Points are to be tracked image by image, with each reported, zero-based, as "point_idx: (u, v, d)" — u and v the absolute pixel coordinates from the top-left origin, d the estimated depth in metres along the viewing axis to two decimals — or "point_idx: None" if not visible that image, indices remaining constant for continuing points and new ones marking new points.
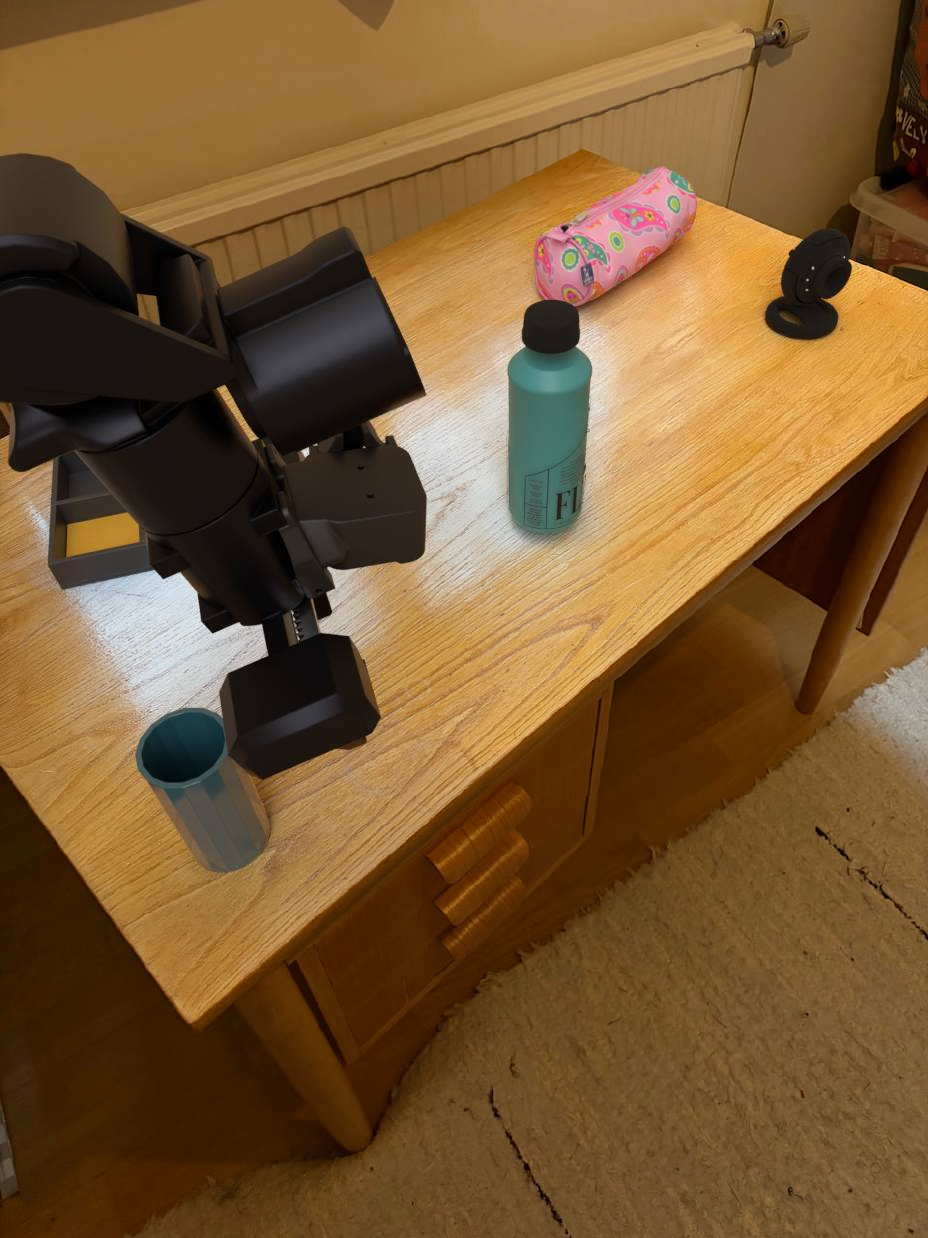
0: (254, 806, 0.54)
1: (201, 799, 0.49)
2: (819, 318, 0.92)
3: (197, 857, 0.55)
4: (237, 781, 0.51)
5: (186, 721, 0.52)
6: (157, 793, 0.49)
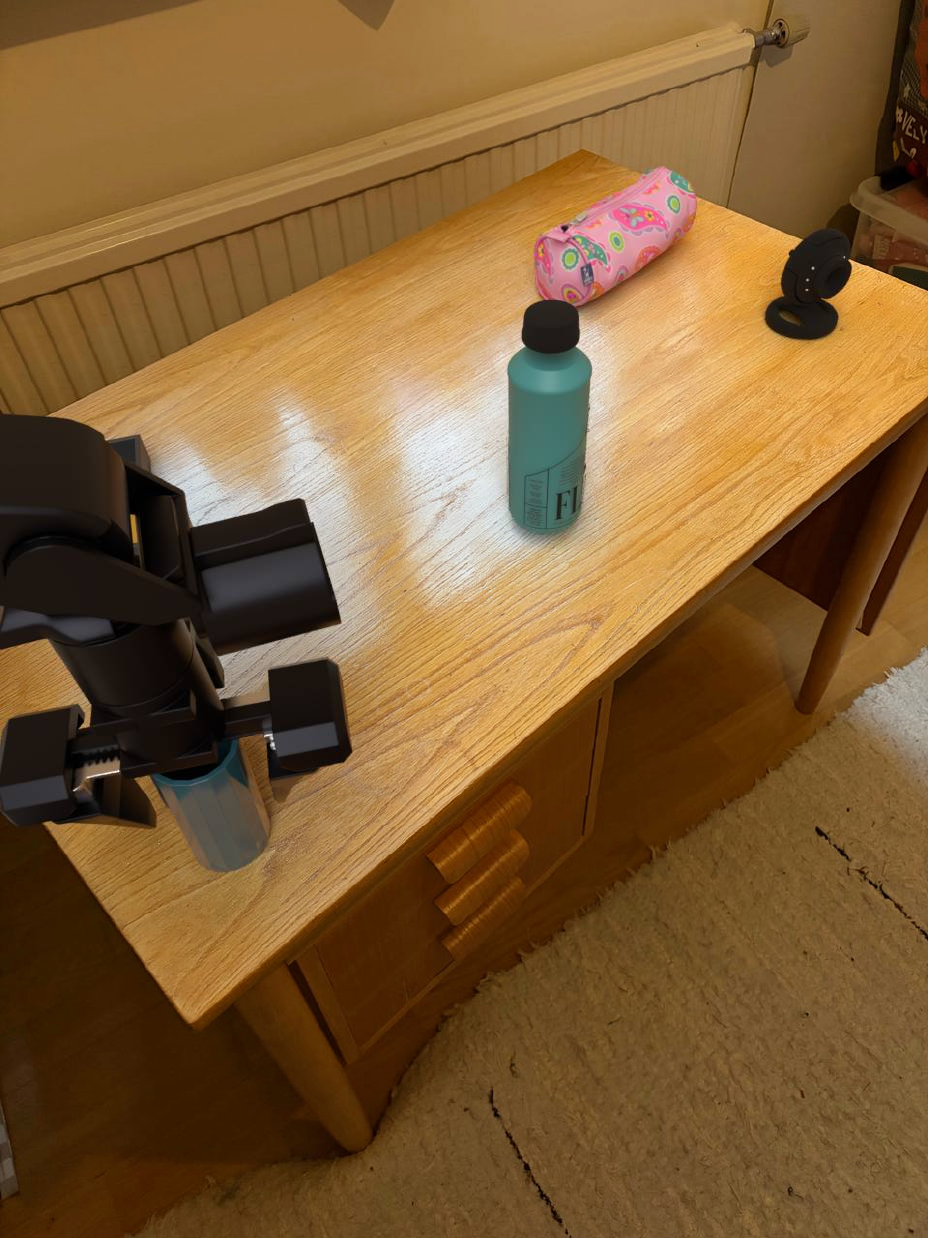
0: (257, 806, 0.54)
1: (207, 797, 0.49)
2: (819, 318, 0.92)
3: (197, 856, 0.55)
4: (242, 780, 0.51)
5: None
6: (163, 790, 0.49)
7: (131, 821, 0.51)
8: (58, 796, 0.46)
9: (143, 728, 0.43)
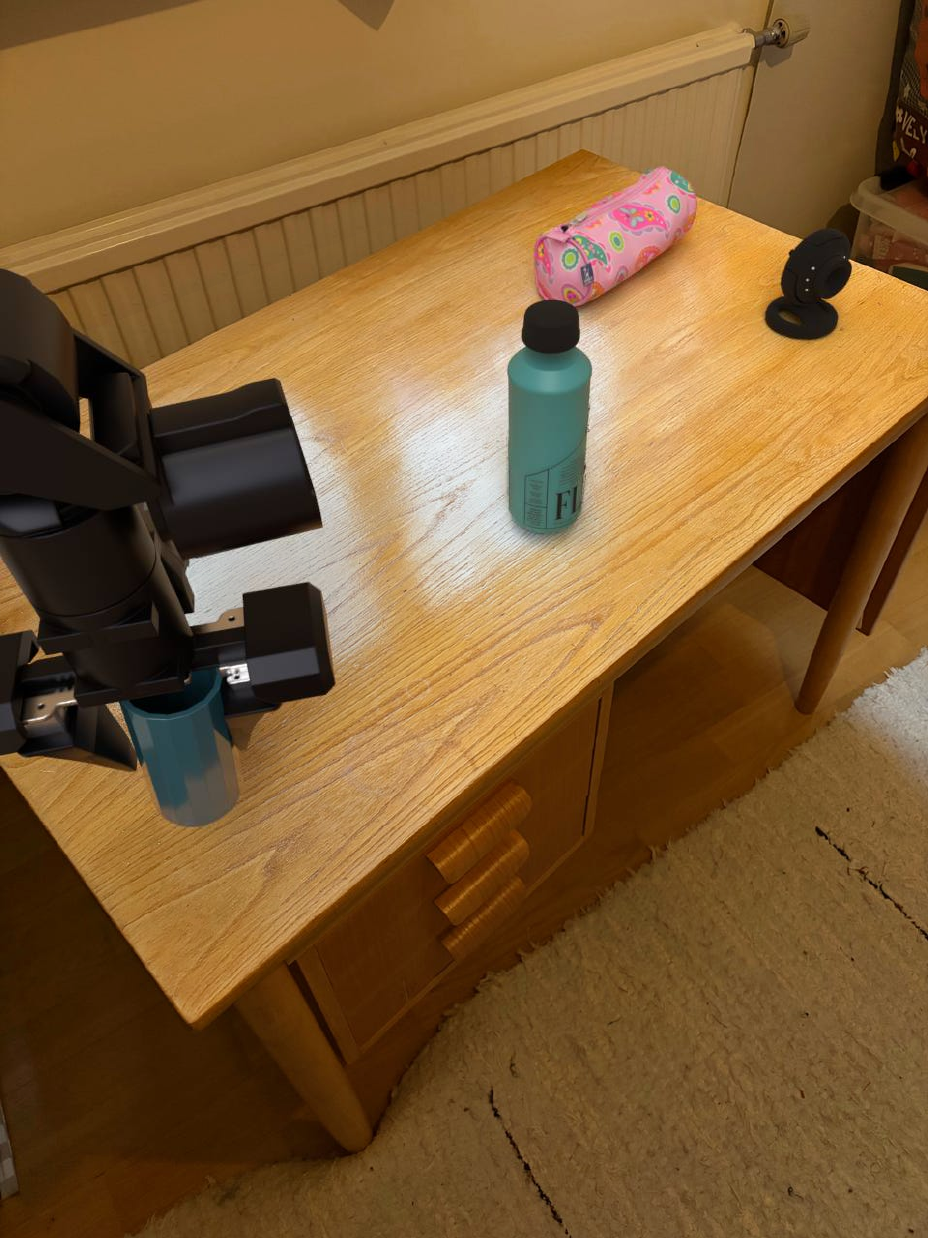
0: (234, 755, 0.50)
1: (184, 736, 0.45)
2: (819, 318, 0.92)
3: (163, 807, 0.50)
4: (223, 722, 0.47)
5: None
6: (136, 726, 0.44)
7: (108, 759, 0.46)
8: (5, 726, 0.41)
9: (99, 644, 0.38)
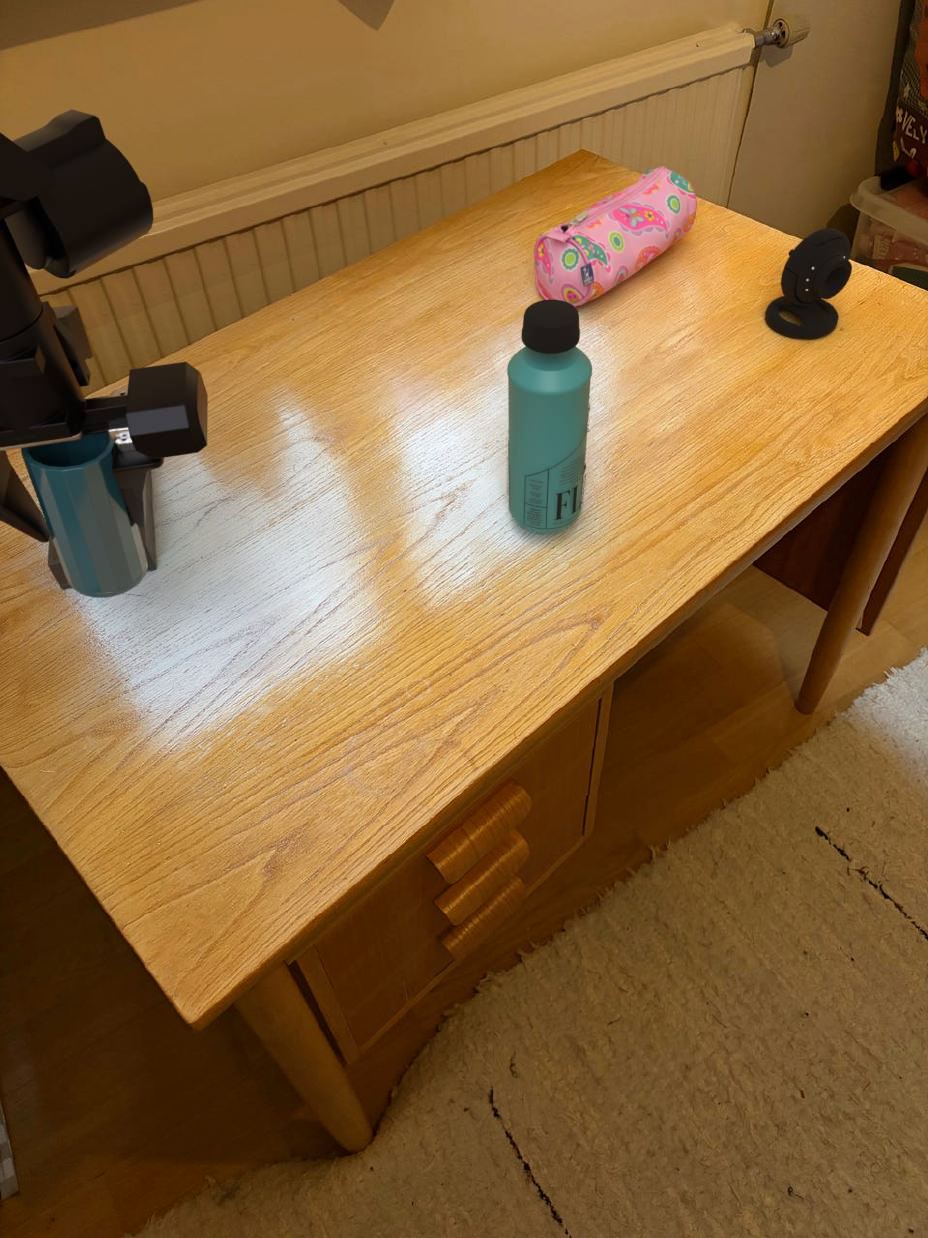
0: (132, 529, 0.57)
1: (80, 491, 0.52)
2: (819, 318, 0.92)
3: (72, 576, 0.58)
4: (117, 488, 0.54)
5: None
6: (38, 480, 0.52)
7: (18, 517, 0.54)
8: None
9: None
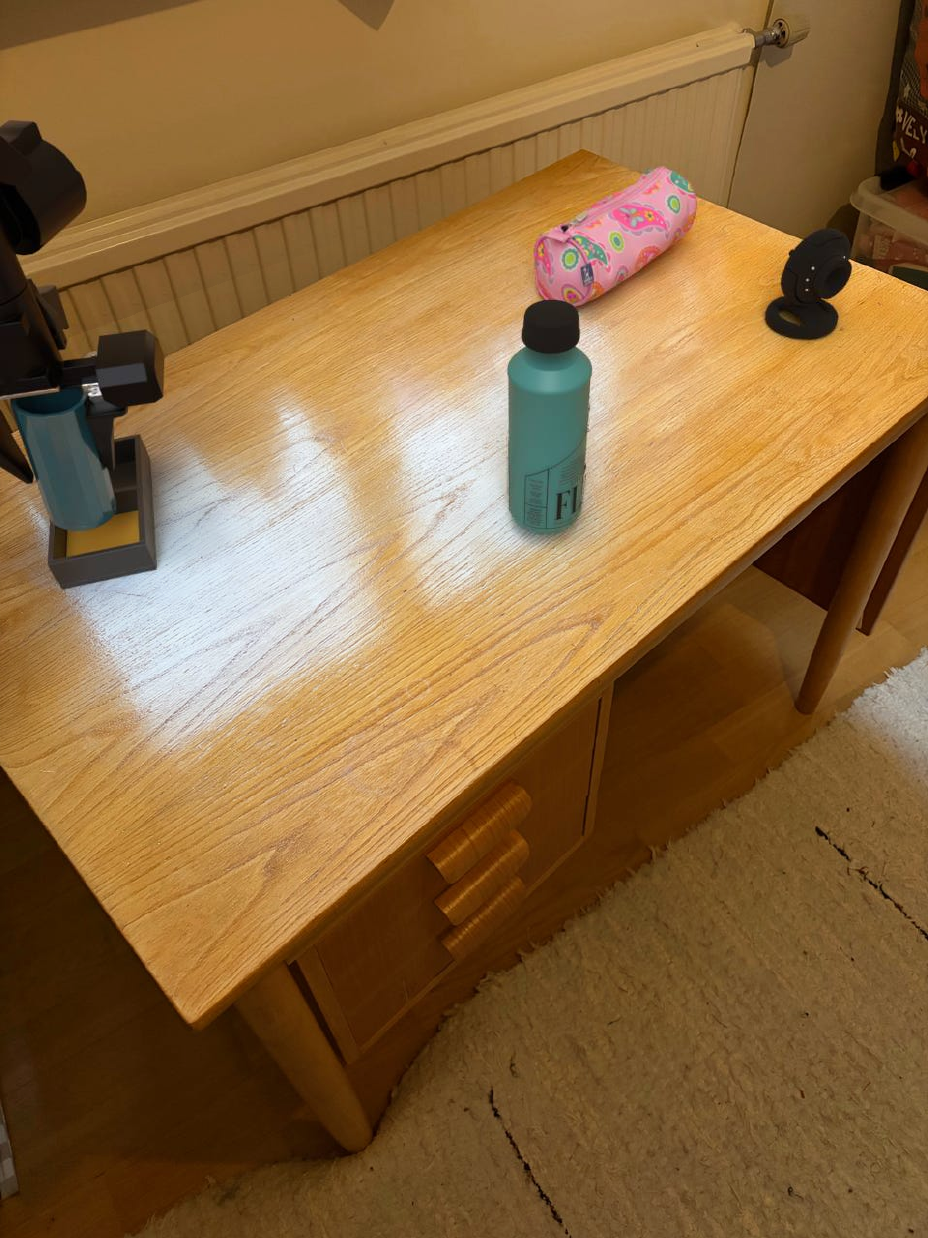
0: (103, 471, 0.69)
1: (58, 435, 0.64)
2: (819, 318, 0.92)
3: (53, 512, 0.69)
4: (90, 435, 0.66)
5: None
6: (24, 426, 0.63)
7: (7, 459, 0.65)
8: None
9: None
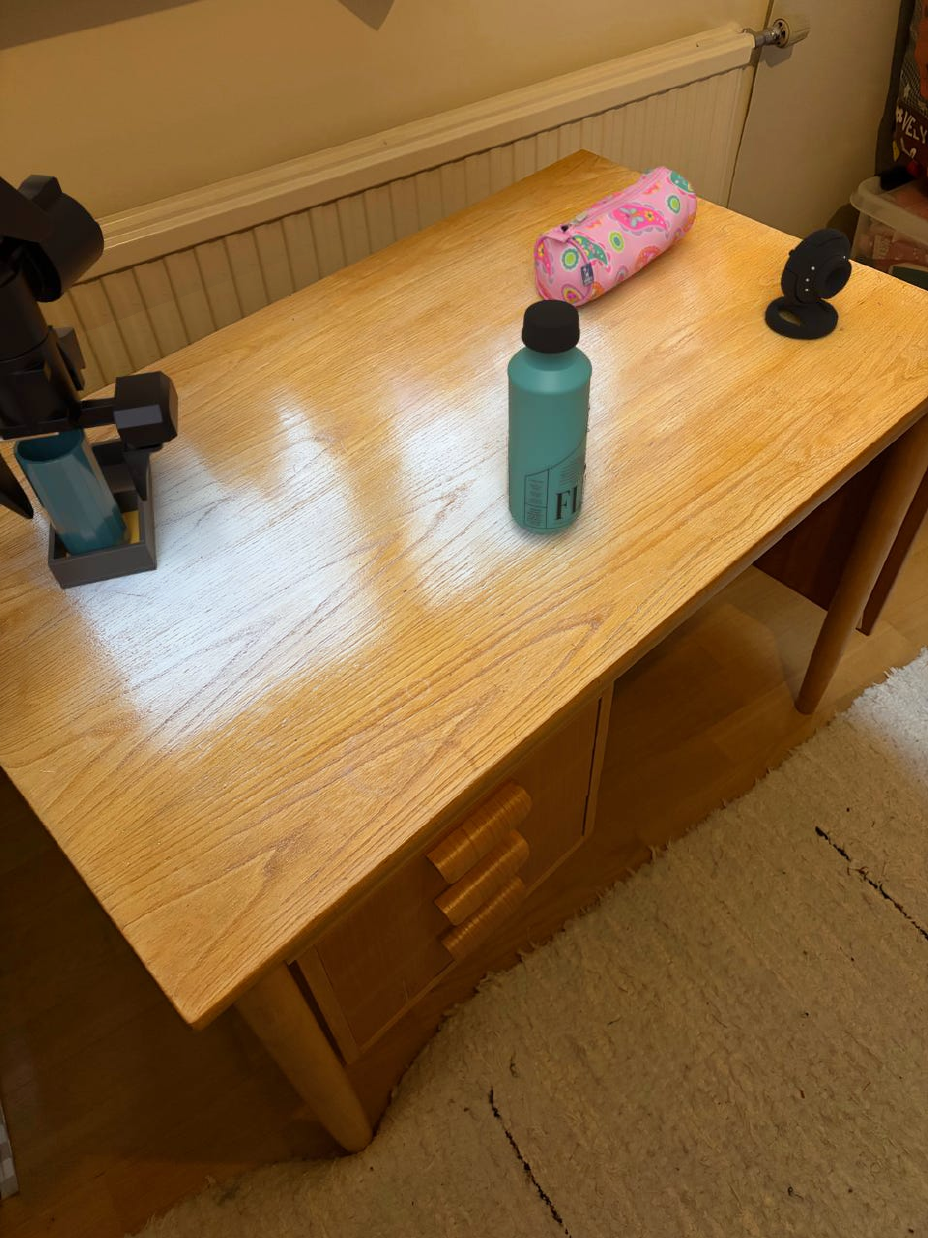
0: (112, 507, 0.72)
1: (61, 479, 0.66)
2: (819, 318, 0.92)
3: (70, 550, 0.73)
4: (92, 474, 0.68)
5: None
6: (28, 473, 0.66)
7: (8, 498, 0.68)
8: None
9: (11, 386, 0.60)
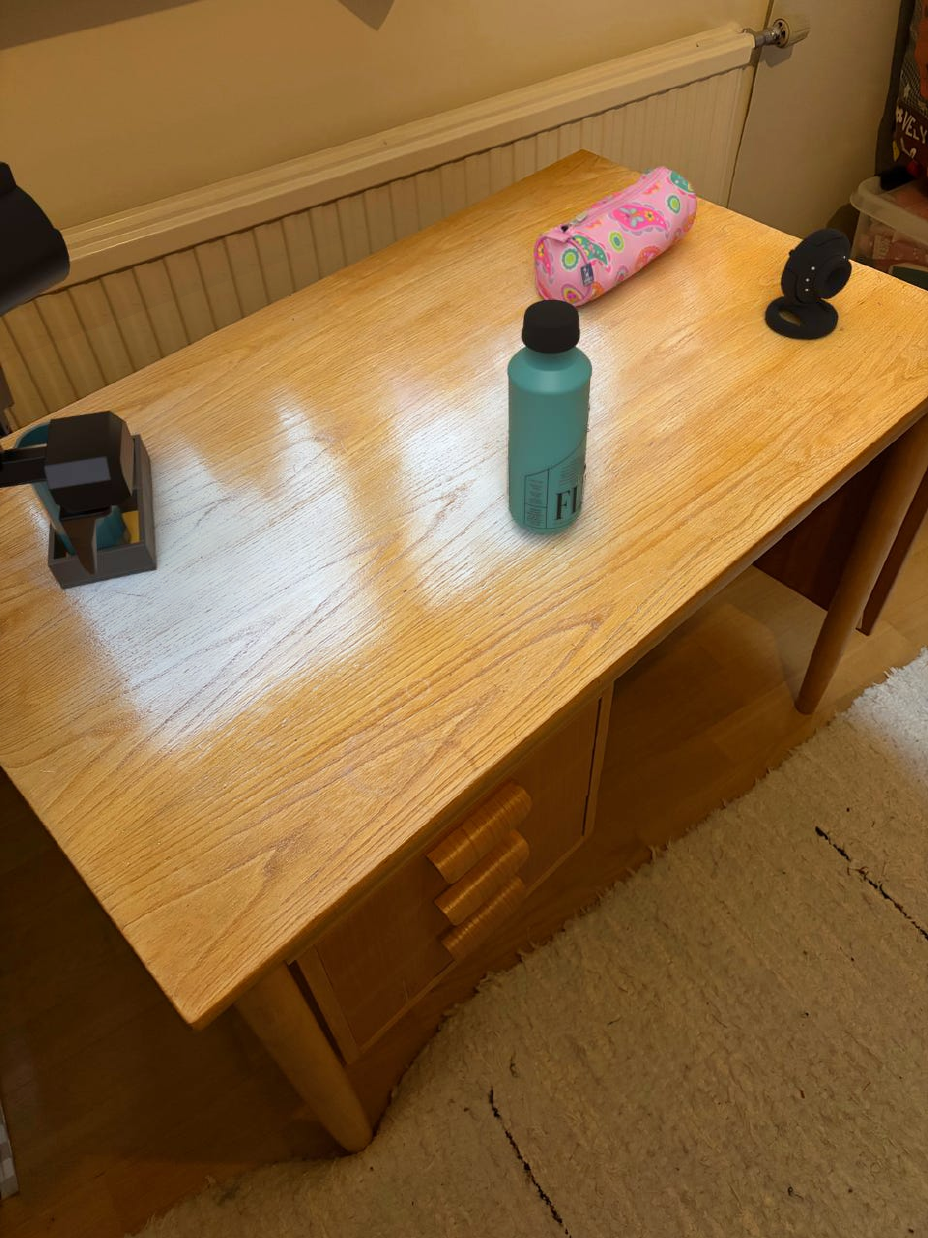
0: None
1: None
2: (819, 318, 0.92)
3: (70, 550, 0.73)
4: None
5: None
6: None
7: None
8: None
9: None
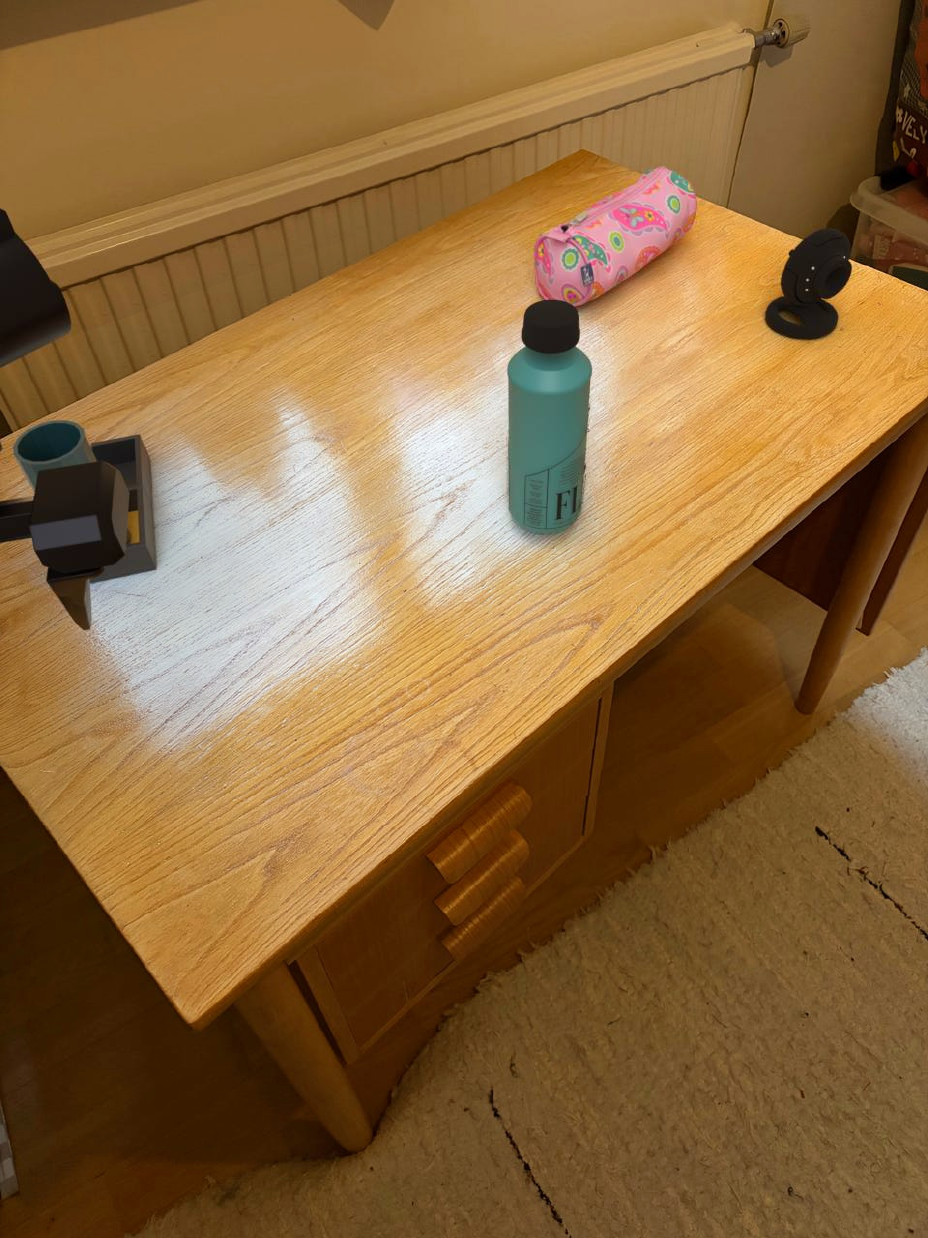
0: None
1: None
2: (819, 318, 0.92)
3: None
4: None
5: (55, 432, 0.69)
6: (28, 473, 0.66)
7: None
8: None
9: None
